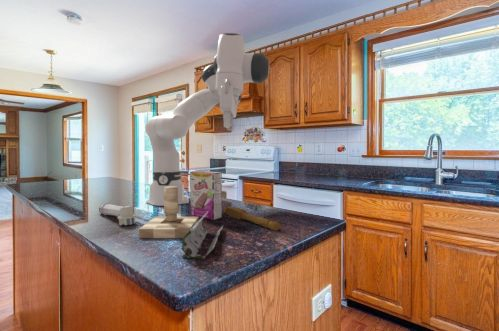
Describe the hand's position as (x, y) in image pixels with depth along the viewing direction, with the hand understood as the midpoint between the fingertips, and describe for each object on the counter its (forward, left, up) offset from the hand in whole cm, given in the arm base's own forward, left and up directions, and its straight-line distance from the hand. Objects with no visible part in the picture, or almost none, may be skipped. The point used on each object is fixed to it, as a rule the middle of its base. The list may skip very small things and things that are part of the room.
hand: (228, 128), depth 98 cm
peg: (+5, -17, -31) cm, 36 cm away
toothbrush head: (-7, -40, -32) cm, 51 cm away
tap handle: (-6, +6, -32) cm, 33 cm away
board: (+7, -17, -31) cm, 36 cm away
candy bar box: (-10, -9, -31) cm, 34 cm away
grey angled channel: (+18, -5, -32) cm, 37 cm away
